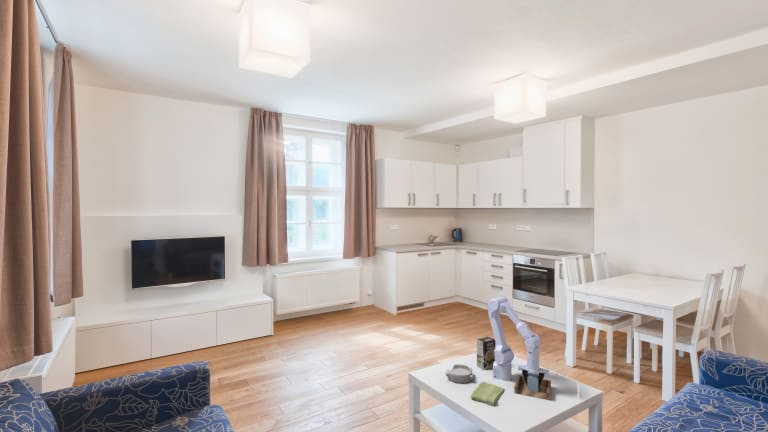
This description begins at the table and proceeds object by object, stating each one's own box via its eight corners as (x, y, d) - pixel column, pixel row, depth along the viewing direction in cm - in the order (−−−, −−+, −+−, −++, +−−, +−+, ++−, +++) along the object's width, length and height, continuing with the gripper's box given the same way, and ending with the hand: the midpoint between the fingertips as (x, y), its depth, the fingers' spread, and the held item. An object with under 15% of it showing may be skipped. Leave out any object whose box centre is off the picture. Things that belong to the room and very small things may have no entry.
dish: (444, 382, 201) (444, 372, 200) (449, 370, 214) (449, 362, 213) (472, 386, 195) (472, 376, 195) (475, 374, 208) (475, 365, 208)
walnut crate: (514, 395, 185) (514, 386, 185) (517, 382, 198) (517, 374, 198) (549, 402, 178) (549, 393, 178) (551, 389, 191) (551, 380, 191)
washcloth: (506, 391, 190) (506, 385, 190) (495, 408, 175) (495, 401, 175) (481, 385, 197) (480, 379, 197) (468, 400, 182) (468, 393, 182)
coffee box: (484, 370, 213) (483, 342, 212) (476, 366, 219) (476, 338, 218) (496, 366, 217) (495, 339, 217) (488, 362, 223) (488, 336, 222)
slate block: (527, 390, 188) (527, 376, 188) (528, 386, 192) (528, 372, 192) (538, 392, 186) (538, 378, 185) (538, 387, 190) (538, 374, 190)
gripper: (516, 360, 188) (517, 386, 189) (548, 365, 182) (548, 392, 182) (518, 354, 194) (518, 380, 195) (549, 359, 188) (549, 386, 188)
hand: (533, 386), depth 189 cm, fingers closed on slate block, 5 cm apart
